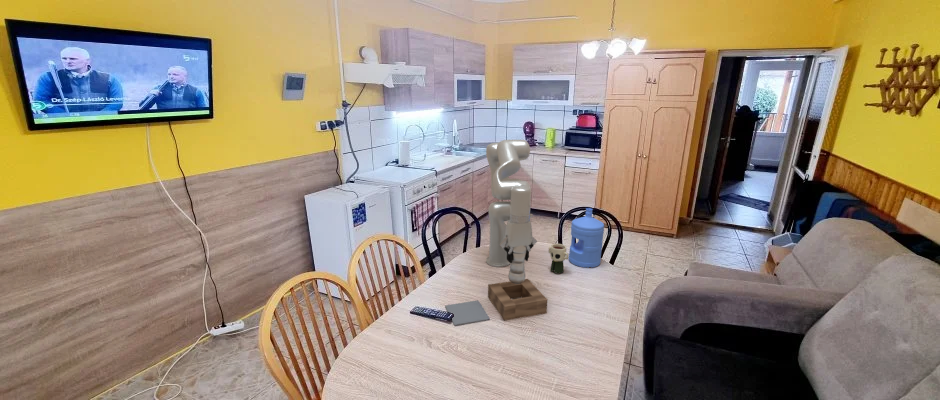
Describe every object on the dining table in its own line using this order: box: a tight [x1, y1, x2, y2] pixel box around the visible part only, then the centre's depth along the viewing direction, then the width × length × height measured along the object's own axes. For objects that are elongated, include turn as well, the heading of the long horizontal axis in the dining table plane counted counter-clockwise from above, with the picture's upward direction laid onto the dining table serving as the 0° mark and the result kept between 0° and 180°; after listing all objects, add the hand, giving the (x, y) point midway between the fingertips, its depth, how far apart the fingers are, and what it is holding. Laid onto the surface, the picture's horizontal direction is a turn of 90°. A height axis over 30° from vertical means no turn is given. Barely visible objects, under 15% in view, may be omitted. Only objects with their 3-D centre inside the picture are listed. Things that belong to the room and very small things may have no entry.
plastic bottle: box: [508, 245, 527, 284], centre depth 158 cm, size 6×7×20 cm
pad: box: [445, 299, 491, 327], centre depth 156 cm, size 14×14×1 cm
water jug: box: [568, 207, 605, 269], centre depth 199 cm, size 16×16×28 cm
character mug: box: [548, 243, 569, 274], centre depth 190 cm, size 11×7×13 cm, turn 44°
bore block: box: [487, 278, 548, 322], centre depth 162 cm, size 18×18×6 cm
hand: (517, 260), depth 158 cm, fingers closed on plastic bottle, 6 cm apart
